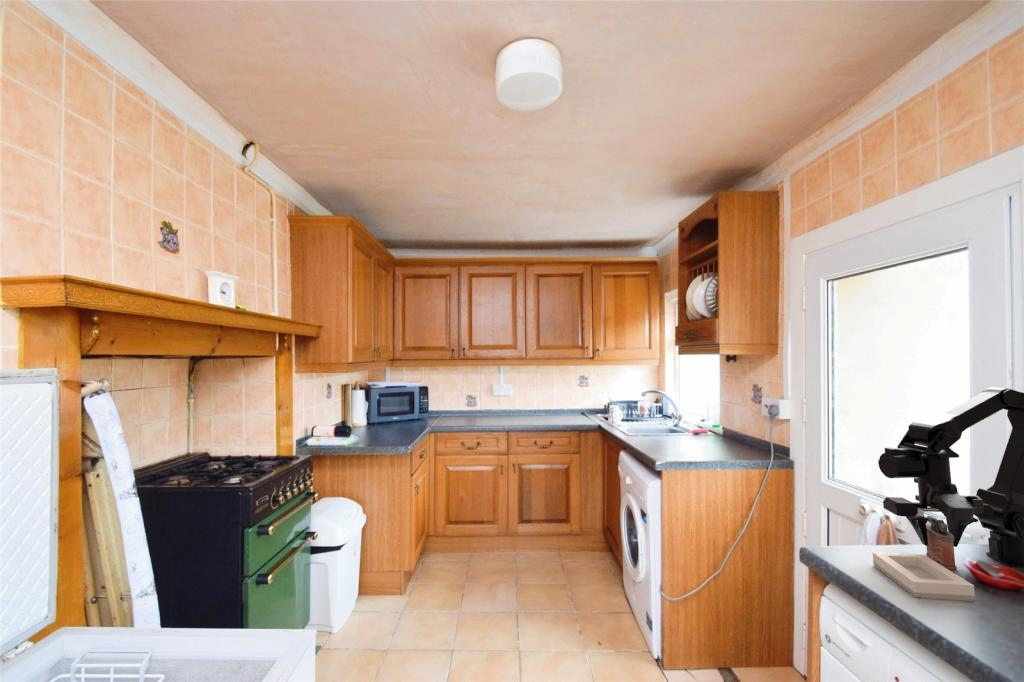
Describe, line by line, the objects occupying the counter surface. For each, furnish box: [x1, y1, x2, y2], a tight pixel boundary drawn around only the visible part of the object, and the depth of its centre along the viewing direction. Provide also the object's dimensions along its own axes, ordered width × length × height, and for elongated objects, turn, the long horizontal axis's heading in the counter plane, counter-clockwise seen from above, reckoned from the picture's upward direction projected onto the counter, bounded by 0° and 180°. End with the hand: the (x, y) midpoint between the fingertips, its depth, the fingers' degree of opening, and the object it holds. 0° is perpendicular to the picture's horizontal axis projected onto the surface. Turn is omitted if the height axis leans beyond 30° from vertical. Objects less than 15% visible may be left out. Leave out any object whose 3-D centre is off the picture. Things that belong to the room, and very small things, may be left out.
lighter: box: [925, 514, 958, 573], centre depth 102 cm, size 8×3×10 cm, turn 162°
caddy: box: [872, 551, 976, 602], centre depth 94 cm, size 10×14×3 cm
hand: (939, 545), depth 102 cm, fingers open, 5 cm apart
